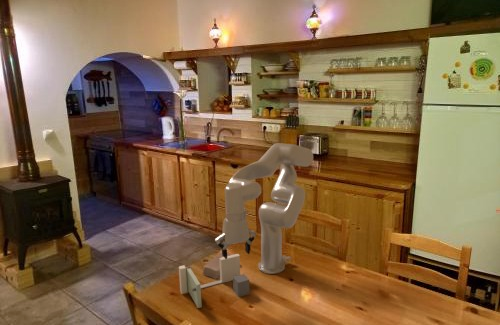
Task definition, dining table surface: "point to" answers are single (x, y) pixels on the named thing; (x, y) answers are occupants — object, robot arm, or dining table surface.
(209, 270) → the brick
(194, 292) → the door
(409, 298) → the dining table surface
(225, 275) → the wall frame
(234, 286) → the grey block
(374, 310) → the dining table surface
